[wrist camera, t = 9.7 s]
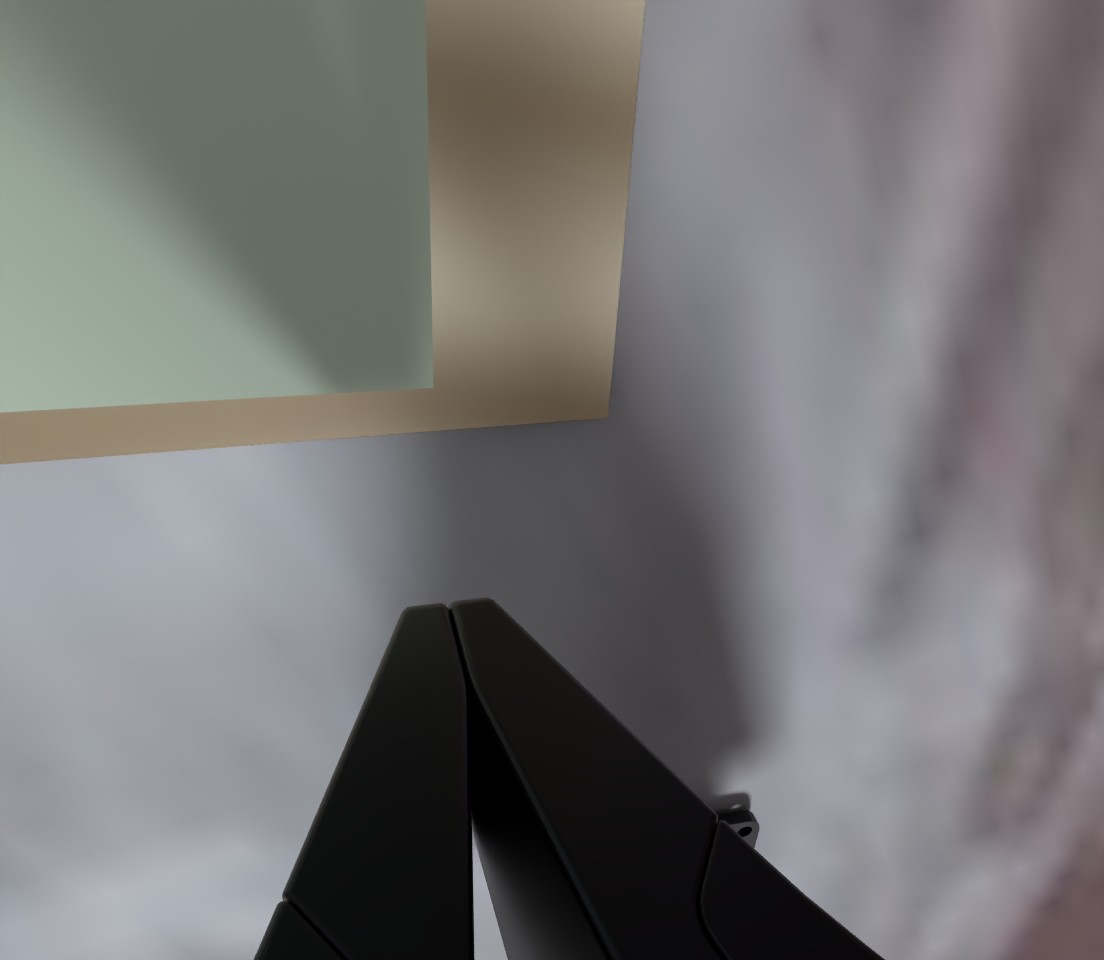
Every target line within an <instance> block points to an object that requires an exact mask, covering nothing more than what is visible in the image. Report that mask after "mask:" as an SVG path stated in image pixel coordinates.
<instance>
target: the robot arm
mask: <svg viewBox="0 0 1104 960" xmlns="http://www.w3.org/2000/svg"><path fill="white" fill-rule="evenodd" d="M472 827H473V833H474V837H475V841H476V845H477V849H478V853H479V857H480V861H481V864H482V868H483V871H484V875H485V879H486V882H487V886H488V889H489V893H490V897H491V900H492V904H493V907H494V911H495V915H496V918H497V922H498V925H499V929H500V933H501V936H502V940H503V944H504V947H505V951H506V954H507V958H508V960H885V959H884V958H882V957H881V956H880V955H878V954H877V953H876V952H875V951H873V950H872V949H871V948H869V947H868V946H867V945H866V944H864V943H863V942H862V941H861V940H859V939H858V938H857V937H856V936H855V935H853V934H852V933H851V932H850V931H848V930H847V929H846V928H845V927H844V926H842V925H841V924H840V923H839V922H837V921H836V920H835V919H834V918H833V917H831V916H830V915H829V914H828V913H826V912H825V911H824V910H823V909H822V908H820V907H819V906H818V905H817V904H815V903H814V902H813V901H812V900H811V899H809V898H808V897H807V896H806V895H805V894H803V893H802V892H801V891H800V890H799V889H798V888H797V887H796V886H795V885H793V884H792V883H791V882H790V881H789V880H788V879H787V878H786V877H785V876H784V875H782V874H781V873H780V872H779V871H778V870H777V869H776V868H775V867H774V866H773V865H771V864H770V863H769V862H768V861H767V860H766V859H765V858H764V857H763V856H761V855H760V854H759V853H758V852H757V851H756V850H755V849H754V847H755V843H756V839H757V836H758V832H759V824H758V822H757V820H756V818H755V816H754V814H753V813H752V812H750V811H739V812H734V813H729V814H723V815H717V813H716V812H715V811H714V810H713V809H712V808H710V807H709V806H708V805H707V804H706V803H705V802H704V801H703V800H702V799H701V798H700V797H699V796H698V795H697V794H696V793H695V792H694V791H693V790H692V789H691V788H690V787H688V786H687V785H686V784H685V783H684V782H683V781H682V780H681V779H680V778H679V777H678V776H677V775H676V774H675V773H674V772H673V771H672V770H671V769H670V768H669V767H668V766H666V765H665V764H664V763H663V762H662V761H661V760H660V759H659V758H658V757H657V756H656V755H655V754H654V753H653V752H652V751H651V750H650V749H649V748H648V747H647V746H646V745H645V744H643V743H642V742H641V741H640V740H639V739H638V738H637V737H636V736H635V735H634V734H633V733H632V732H631V731H630V730H629V729H628V728H627V727H626V726H625V725H624V724H623V723H621V722H620V721H619V720H618V719H617V718H616V717H615V716H614V715H613V714H612V713H611V712H610V711H609V710H608V709H607V708H606V707H605V706H604V705H603V704H602V703H601V702H599V701H598V700H597V699H596V698H595V697H594V696H593V695H592V694H591V693H590V692H589V691H588V690H587V689H586V688H585V687H584V686H583V685H582V684H581V683H580V682H579V681H577V680H576V679H575V678H574V677H573V676H572V675H571V674H570V673H569V672H568V671H567V670H566V669H565V668H564V667H563V666H562V665H561V664H560V663H559V662H558V661H557V660H556V659H554V658H553V657H552V656H551V655H550V654H549V653H548V652H547V651H546V650H545V649H544V648H543V647H542V646H541V645H540V644H539V643H538V642H537V641H536V640H535V639H534V638H532V637H531V636H530V635H529V634H528V633H527V632H526V631H525V630H524V629H523V628H522V627H521V626H520V625H519V624H518V623H517V622H516V621H515V620H514V619H513V618H512V617H510V616H509V615H508V614H507V613H506V612H505V611H504V610H503V609H502V608H501V607H500V606H499V605H498V604H497V603H496V602H495V601H493V600H492V599H489V598H479V599H470V600H462V601H455V602H453V603H451V604H450V606H449V608H447V607H446V605H444V604H442V603H437V604H428V605H420V606H411V607H407V608H406V609H404V611H403V612H402V614H401V616H400V618H399V620H398V623H397V625H396V627H395V630H394V632H393V634H392V637H391V639H390V642H389V644H388V646H387V649H386V651H385V653H384V656H383V658H382V660H381V663H380V665H379V667H378V670H377V672H376V675H375V677H374V679H373V682H372V684H371V686H370V689H369V691H368V693H367V696H366V698H365V700H364V703H363V705H362V708H361V710H360V712H359V715H358V717H357V719H356V722H355V724H354V726H353V729H352V731H351V733H350V736H349V738H348V741H347V743H346V745H345V748H344V750H343V752H342V755H341V757H340V759H339V762H338V764H337V766H336V769H335V771H334V774H333V776H332V778H331V781H330V783H329V785H328V788H327V790H326V792H325V795H324V797H323V799H322V802H321V804H320V807H319V809H318V811H317V814H316V816H315V818H314V821H313V823H312V825H311V828H310V830H309V832H308V835H307V837H306V839H305V842H304V844H303V847H302V849H301V851H300V854H299V856H298V858H297V861H296V863H295V865H294V868H293V870H292V872H291V875H290V877H289V880H288V882H287V884H286V887H285V889H284V891H283V895H282V898H283V901H281V902H280V903H279V904H278V905H277V907H276V909H275V911H274V914H273V916H272V918H271V921H270V923H269V925H268V928H267V930H266V932H265V935H264V937H263V940H262V942H261V944H260V947H259V949H258V951H257V953H256V955H255V958H254V960H474V912H473V858H472Z"/></svg>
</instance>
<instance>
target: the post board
mask: <svg viewBox="0 0 1104 960" xmlns="http://www.w3.org/2000/svg"><path fill="white" fill-rule="evenodd" d="M644 9H645V0H426V48H427V96H428V144H429V192H430V240H431V288H432V336H433V384H434V388H422V389H405V390H387V391H370V392H352V393H335V394H317V395H300V396H282V397H265V398H247V399H230V400H212V401H195V402H178V403H160V404H143V405H125V406H108V407H90V408H73V409H55V410H38V411H20V412H3V413H0V464H11V463H24V462H37V461H50V460H63V459H77V458H90V457H103V456H116V455H129V454H142V453H155V452H168V451H181V450H194V449H207V448H220V447H234V446H247V445H260V444H273V443H286V442H299V441H312V440H325V439H338V438H351V437H364V436H377V435H391V434H404V433H417V432H430V431H443V430H456V429H469V428H482V427H495V426H508V425H521V424H534V423H548V422H561V421H574V420H587V419H600V418H608V413H609V402H610V391H611V380H612V368H613V357H614V346H615V335H616V324H617V312H618V301H619V290H620V279H621V267H622V256H623V245H624V234H625V222H626V211H627V200H628V189H629V178H630V166H631V155H632V144H633V133H634V121H635V110H636V99H637V88H638V77H639V65H640V54H641V43H642V32H643V20H644Z"/></svg>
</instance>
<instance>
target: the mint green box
mask: <svg viewBox="0 0 1104 960" xmlns="http://www.w3.org/2000/svg"><path fill="white" fill-rule="evenodd" d="M422 388H434V384H433V336H432V288H431V240H430V192H429V144H428V96H427V48H426V0H0V413H3V412H20V411H38V410H55V409H73V408H90V407H108V406H125V405H143V404H160V403H178V402H195V401H212V400H230V399H247V398H265V397H282V396H300V395H317V394H335V393H352V392H370V391H387V390H405V389H422Z"/></svg>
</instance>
